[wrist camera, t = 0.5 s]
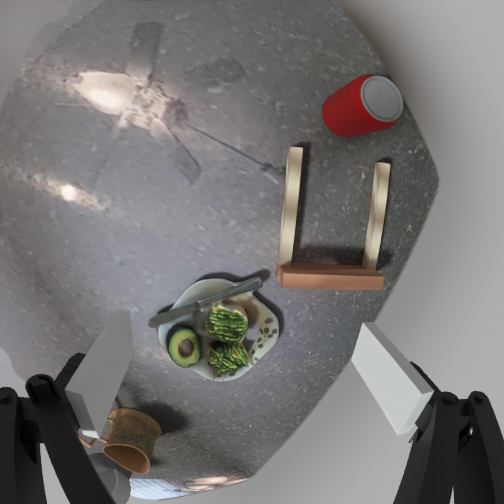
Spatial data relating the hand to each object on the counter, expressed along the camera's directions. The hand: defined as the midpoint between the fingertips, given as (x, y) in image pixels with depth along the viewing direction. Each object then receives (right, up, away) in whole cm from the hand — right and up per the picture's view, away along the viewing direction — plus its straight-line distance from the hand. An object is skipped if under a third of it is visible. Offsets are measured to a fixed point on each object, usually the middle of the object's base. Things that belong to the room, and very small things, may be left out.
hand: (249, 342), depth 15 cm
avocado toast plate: (-6, -7, +29) cm, 30 cm away
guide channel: (+12, +10, +25) cm, 29 cm away
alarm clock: (-38, -52, +37) cm, 75 cm away
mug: (-27, -30, +32) cm, 51 cm away
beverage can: (+13, +24, +21) cm, 35 cm away
